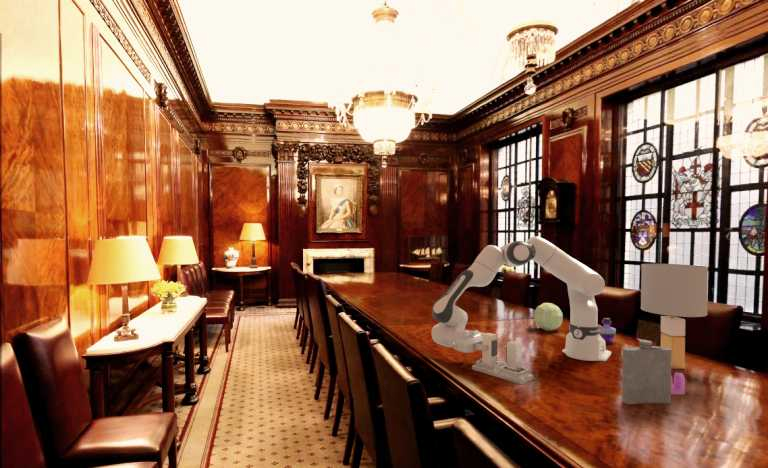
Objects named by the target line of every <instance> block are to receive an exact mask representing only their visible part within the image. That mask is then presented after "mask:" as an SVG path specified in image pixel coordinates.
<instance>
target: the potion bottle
mask: <svg viewBox="0 0 768 468" xmlns="http://www.w3.org/2000/svg"><path fill="white" fill-rule="evenodd" d="M612 322H613V321H612V320H611V318H609V317H604V318H603V319H602V320H601V324H603V326H602V325H601V329H600V330H599V332H600V333H599V335H600V336H601V337H602V338H603V339H604V340H605V343H606V344H613V342H614V339H615V338H616V337H617V336H616V335H617V333H616V332H617V329H616V328H615V327H612V326H611V325H612Z"/></svg>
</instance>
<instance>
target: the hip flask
mask: <svg viewBox="0 0 768 468" xmlns="http://www.w3.org/2000/svg"><path fill="white" fill-rule="evenodd" d="M638 343H639V346H635V347H634V346H631V347H622V374H621V376H622V377H621V378H622V379H621V380H622V385H621V389H622V391H621V392H622V393H621V394H622V395H621V402H622V403H623V404H625V403H626V405H636V404H637V405H639V404H667V403H669V404H671V403H672V401H671V400H672V399H671V398H672V394H671V375H672V368H671V349H670V348H665V347H661V346H653V341H651V340H647V339H640V340H639V341H638ZM638 403H639V404H638Z"/></svg>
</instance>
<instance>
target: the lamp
mask: <svg viewBox="0 0 768 468" xmlns="http://www.w3.org/2000/svg"><path fill="white" fill-rule="evenodd" d="M708 270H709V267H708V266H705V265H692V264H682V263H681V264H679V263H642V264H641V277H640V279H641V282H640V286H641V287H640V309H641V310H642V311H644V312H648V313H651V314H657V315H660V347H665V348H670V349H671V370H672V369H678V370H679V369H680V370H681V369H683V370H684V369H685V366H686V365H685V363H686V361H685V360H686V337H685V336H686V319H685V318H702V317H706V316H708V274H709V273H708V272H709V271H708ZM681 317H683V318H681Z"/></svg>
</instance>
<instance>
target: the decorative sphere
mask: <svg viewBox="0 0 768 468" xmlns="http://www.w3.org/2000/svg"><path fill="white" fill-rule="evenodd" d="M563 317H564V315H563V312H562V310H561V309H560V307H559V306H558V305H556V304H554V303H551V302H543V303H541V304H540V305H538V306H537V307H536V309H535V310H534V313H533V320H534V322H535V324H536V326H537V327H538V328H540V329H542V330H544V331H546V332H549V331H550V332H552V331H555V330H557V329H558V328H560V327H561V326H562V324H563Z"/></svg>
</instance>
